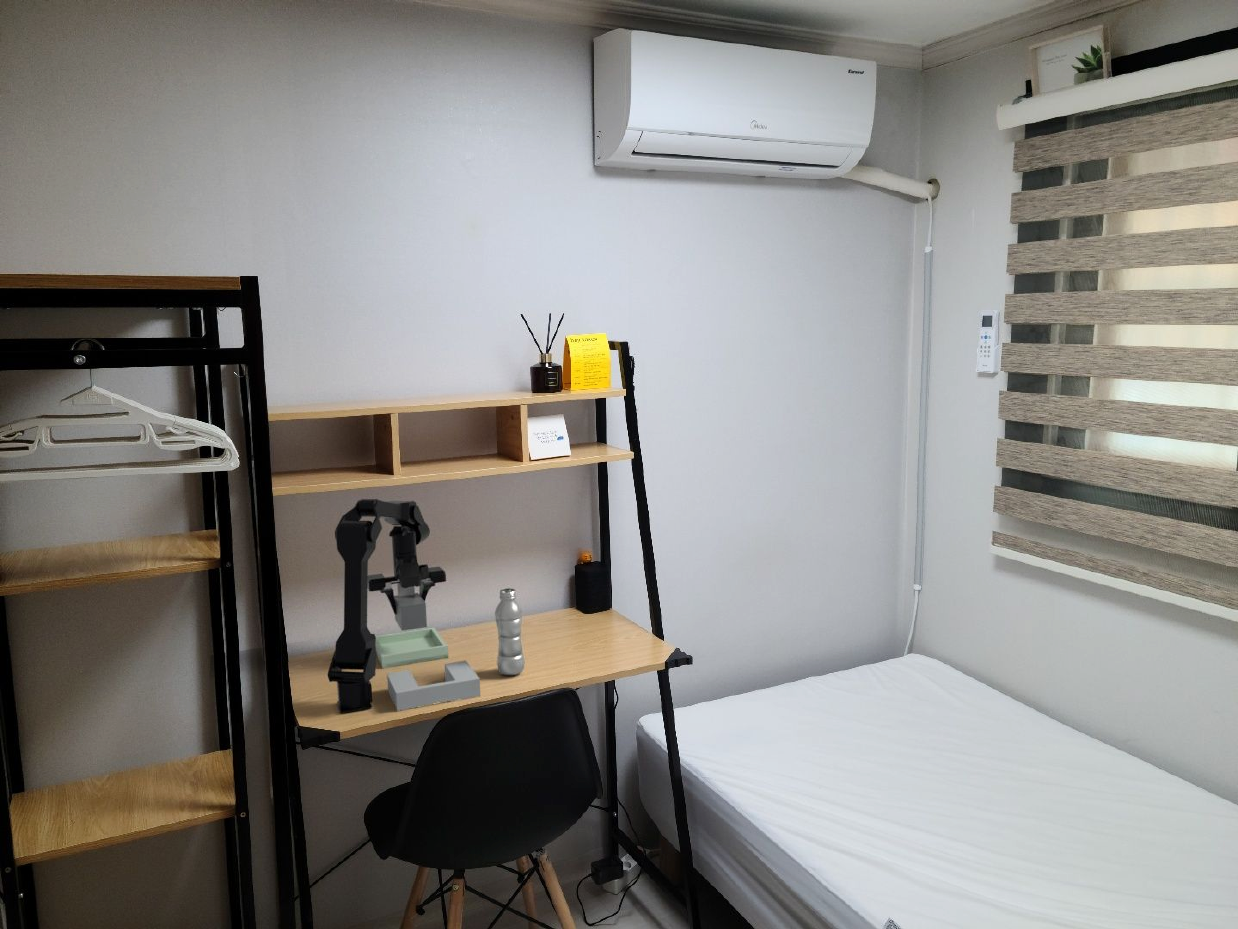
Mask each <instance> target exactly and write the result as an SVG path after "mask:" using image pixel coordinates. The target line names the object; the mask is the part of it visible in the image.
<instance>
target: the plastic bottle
mask: <svg viewBox="0 0 1238 929" xmlns="http://www.w3.org/2000/svg"><path fill="white" fill-rule="evenodd" d="M516 598H517V594H516V589H514V588H510V587H507V588H502V589H500V590H499V600H500V601H499V603H498V604H497V606H496V608H495V611H494V618H495V622H496V627H497V635H498V637H497V638H498V646H497V647H498V648H497V659H496V665H497V670H498V671H499V673H500V674H502V675H505V676H515V675H519V674H520V673H521V672H523V671H524V668H525V663H526V662H525V655H524V653H523V646H522V634H521V633H522V619H523V610H522V607H521V605H520V604H519V603H518V601H517V600H516Z"/></svg>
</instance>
